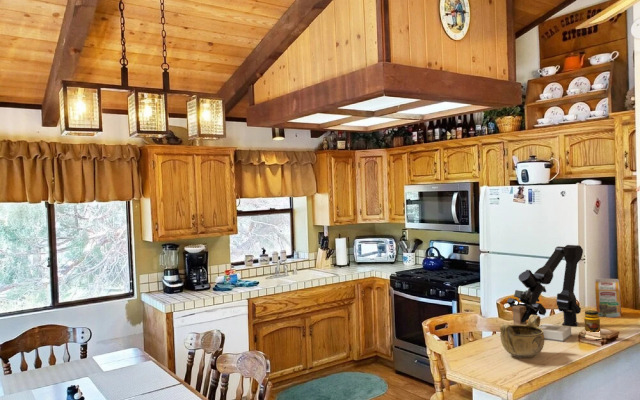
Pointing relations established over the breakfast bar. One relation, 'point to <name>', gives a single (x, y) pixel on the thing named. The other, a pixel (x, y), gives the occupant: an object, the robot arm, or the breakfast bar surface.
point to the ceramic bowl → (523, 338)
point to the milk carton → (608, 298)
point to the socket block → (556, 332)
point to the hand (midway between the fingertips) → (517, 321)
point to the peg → (518, 314)
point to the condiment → (592, 321)
